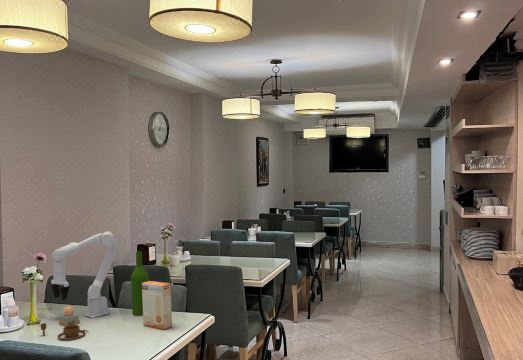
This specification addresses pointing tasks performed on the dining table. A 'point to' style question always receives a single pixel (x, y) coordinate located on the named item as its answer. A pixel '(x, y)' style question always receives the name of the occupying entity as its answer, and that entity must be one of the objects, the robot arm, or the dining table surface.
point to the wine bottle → (138, 285)
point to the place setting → (68, 332)
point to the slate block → (69, 318)
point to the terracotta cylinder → (68, 311)
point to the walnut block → (69, 323)
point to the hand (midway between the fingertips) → (60, 298)
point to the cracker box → (157, 304)
